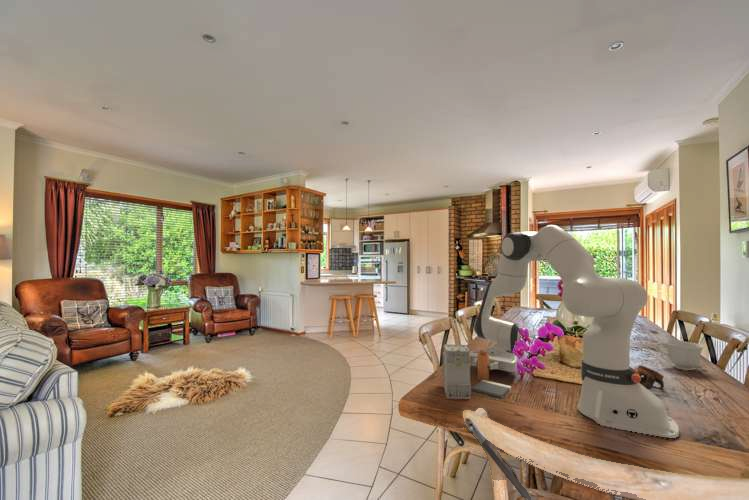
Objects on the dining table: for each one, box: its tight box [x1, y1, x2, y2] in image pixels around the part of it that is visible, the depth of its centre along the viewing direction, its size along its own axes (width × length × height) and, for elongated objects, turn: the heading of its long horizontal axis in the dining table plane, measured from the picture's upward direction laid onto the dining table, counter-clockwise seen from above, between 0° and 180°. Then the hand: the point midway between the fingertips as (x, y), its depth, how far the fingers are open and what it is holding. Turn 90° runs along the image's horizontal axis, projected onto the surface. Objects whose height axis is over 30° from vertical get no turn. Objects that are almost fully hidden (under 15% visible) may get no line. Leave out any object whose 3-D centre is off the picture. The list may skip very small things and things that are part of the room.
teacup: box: [655, 339, 705, 371], centre depth 136 cm, size 12×15×10 cm
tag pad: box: [471, 380, 512, 399], centre depth 113 cm, size 10×10×1 cm
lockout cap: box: [477, 349, 490, 381], centre depth 123 cm, size 4×4×10 cm
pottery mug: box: [633, 364, 665, 390], centre depth 114 cm, size 12×10×8 cm
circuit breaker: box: [442, 343, 472, 400], centre depth 113 cm, size 8×14×15 cm, turn 174°
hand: (482, 365), depth 123 cm, fingers closed on lockout cap, 4 cm apart
